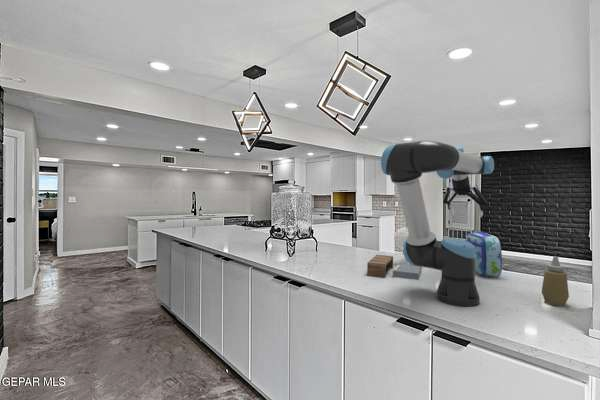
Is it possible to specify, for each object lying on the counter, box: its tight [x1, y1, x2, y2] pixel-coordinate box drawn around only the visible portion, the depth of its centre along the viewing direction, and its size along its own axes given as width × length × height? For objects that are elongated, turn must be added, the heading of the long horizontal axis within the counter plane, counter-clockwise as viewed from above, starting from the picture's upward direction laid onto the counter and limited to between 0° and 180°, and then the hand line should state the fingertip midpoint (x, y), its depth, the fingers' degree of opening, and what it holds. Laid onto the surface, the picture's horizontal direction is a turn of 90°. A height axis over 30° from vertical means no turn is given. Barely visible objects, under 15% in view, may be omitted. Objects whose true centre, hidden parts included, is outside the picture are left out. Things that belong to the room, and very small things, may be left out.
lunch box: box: [465, 230, 503, 277], centre depth 165 cm, size 26×11×21 cm, turn 168°
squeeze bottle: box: [541, 255, 570, 307], centre depth 119 cm, size 8×8×18 cm
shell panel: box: [392, 264, 423, 281], centre depth 161 cm, size 15×12×4 cm
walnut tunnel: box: [366, 254, 394, 279], centre depth 167 cm, size 22×9×7 cm, turn 154°
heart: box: [394, 226, 433, 255], centre depth 184 cm, size 28×16×22 cm, turn 131°
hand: (466, 215), depth 162 cm, fingers open, 13 cm apart
